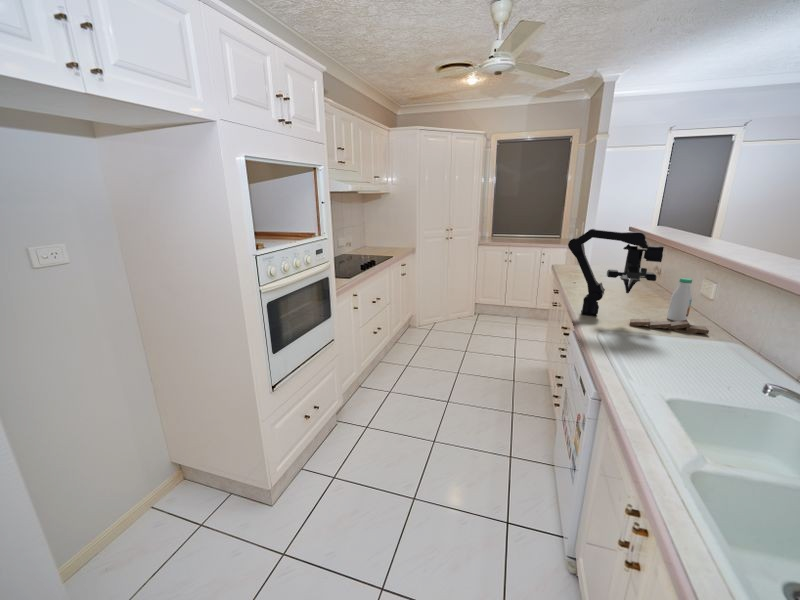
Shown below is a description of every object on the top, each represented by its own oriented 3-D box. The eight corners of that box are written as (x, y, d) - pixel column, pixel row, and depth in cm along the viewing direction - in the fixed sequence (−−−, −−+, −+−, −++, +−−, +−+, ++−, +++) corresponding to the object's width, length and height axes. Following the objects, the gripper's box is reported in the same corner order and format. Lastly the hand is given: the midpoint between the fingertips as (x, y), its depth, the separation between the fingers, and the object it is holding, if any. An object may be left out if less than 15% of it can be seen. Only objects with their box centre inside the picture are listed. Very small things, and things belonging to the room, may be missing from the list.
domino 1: (629, 322, 160) (650, 321, 155) (630, 319, 164) (650, 318, 159) (630, 325, 160) (650, 325, 155) (630, 322, 164) (650, 322, 159)
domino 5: (687, 327, 151) (709, 330, 148) (684, 324, 156) (705, 326, 152) (686, 330, 152) (708, 333, 148) (683, 327, 156) (704, 330, 153)
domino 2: (649, 325, 156) (670, 323, 152) (648, 321, 161) (668, 320, 157) (650, 328, 157) (671, 327, 153) (648, 325, 161) (669, 323, 157)
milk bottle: (681, 323, 163) (691, 281, 158) (663, 318, 170) (672, 277, 164) (690, 320, 167) (700, 279, 161) (671, 316, 173) (681, 276, 168)
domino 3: (667, 326, 155) (689, 323, 151) (665, 323, 159) (686, 319, 155) (668, 329, 155) (690, 326, 151) (666, 326, 159) (687, 323, 155)
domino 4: (674, 329, 154) (696, 332, 150) (672, 325, 158) (693, 328, 154) (673, 332, 154) (695, 335, 151) (671, 329, 158) (692, 332, 155)
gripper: (612, 261, 156) (606, 295, 161) (663, 264, 149) (655, 299, 154) (609, 257, 166) (603, 289, 170) (656, 260, 159) (649, 293, 163)
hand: (627, 293), depth 164 cm, fingers closed
